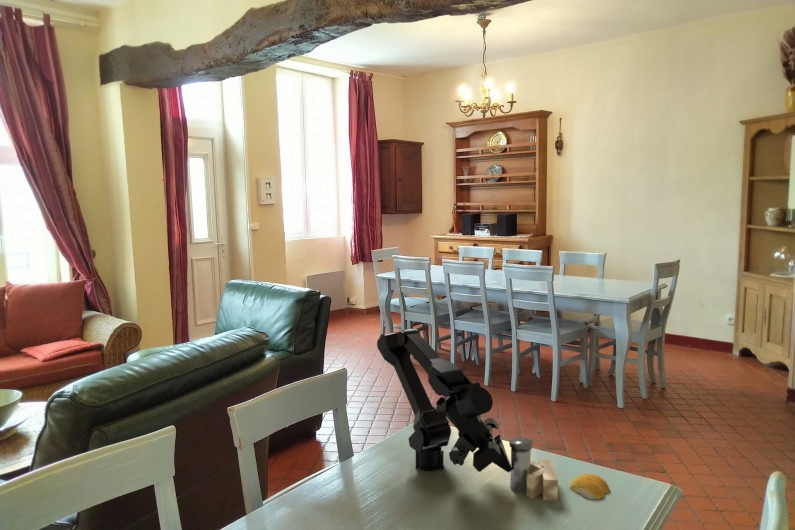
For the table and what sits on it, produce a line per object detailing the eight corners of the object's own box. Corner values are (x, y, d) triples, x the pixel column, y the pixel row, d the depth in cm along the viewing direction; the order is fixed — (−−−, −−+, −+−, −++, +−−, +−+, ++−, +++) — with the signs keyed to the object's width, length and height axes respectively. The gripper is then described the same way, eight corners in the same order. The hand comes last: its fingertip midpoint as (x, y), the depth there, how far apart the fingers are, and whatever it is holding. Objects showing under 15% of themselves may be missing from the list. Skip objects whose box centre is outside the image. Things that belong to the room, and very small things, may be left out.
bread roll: (613, 492, 133) (614, 475, 132) (597, 507, 126) (598, 490, 126) (580, 480, 138) (580, 464, 138) (562, 494, 132) (563, 477, 131)
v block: (527, 499, 127) (527, 478, 126) (523, 477, 137) (523, 458, 136) (557, 501, 126) (557, 480, 125) (551, 479, 136) (551, 459, 135)
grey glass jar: (509, 492, 130) (510, 446, 128) (507, 481, 135) (508, 436, 134) (532, 493, 129) (533, 447, 128) (530, 482, 134) (531, 437, 133)
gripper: (441, 424, 142) (483, 472, 141) (435, 457, 123) (483, 512, 123) (475, 397, 140) (518, 445, 139) (474, 426, 121) (523, 482, 121)
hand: (510, 470), depth 131 cm, fingers closed
